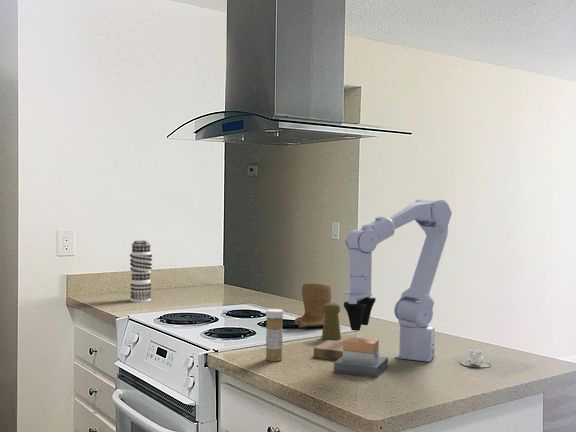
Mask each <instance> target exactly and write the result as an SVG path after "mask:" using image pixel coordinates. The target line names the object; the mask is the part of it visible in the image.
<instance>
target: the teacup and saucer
mask: <svg viewBox="0 0 576 432" xmlns="http://www.w3.org/2000/svg"><path fill="white" fill-rule="evenodd" d="M482 355H483V351H482V350H481V349H478V348H477V349H476V348H473V349H469V357H468V360H470V362H469V363H470V364H471V365H472V364H480V365H481V364H482V363H481V361H483V362H484V357H483V356H482Z"/></svg>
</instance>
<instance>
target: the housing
mask: <svg viewBox="0 0 576 432" xmlns="http://www.w3.org/2000/svg"><path fill="white" fill-rule="evenodd" d="M342 342H343V360H344V361H353V362H361V363H370V364H374V363H375V362H376V361H377V360H378V356H379V353H380V352H379V350H380V348H379V347H380V345H379V344H380V343H379V342H380V341H379V339H375V338H374V339H373V338H365V337H364V338H363V337H355V336H348V337H346V338H345V339H343V340H342Z"/></svg>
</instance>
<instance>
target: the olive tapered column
mask: <svg viewBox="0 0 576 432" xmlns="http://www.w3.org/2000/svg"><path fill="white" fill-rule="evenodd" d="M323 310H324V312H325V318H324V325H323V326H322V327H323V328H322V333H321V339H322V340H324V341H327V340H332V341H339V340H340V341H341V340H342V337H341V336H342V334H341V328H340V327H341V326H340V317H339V313H340V311H341V306H340V304H338V303H335V302H330V303H327V304H325V305H324V308H323Z"/></svg>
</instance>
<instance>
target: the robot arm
mask: <svg viewBox="0 0 576 432" xmlns="http://www.w3.org/2000/svg"><path fill="white" fill-rule="evenodd" d="M452 213H453V212H452V211H451V208H450V205H449V203H448V202H447V201H446V200H444V199H430V200H429V199H416V200H415V201H413V202H410V203H409V205H407V206H405V207H404V208H402V209H401V210H399V211H398V212H397V213H395V214H393V215H392V216H389V218H388V217H386V216H377V217H375V218H374V220H373V221H372V222H371V223H368V224H364V225H362V226H361V228H360V229H352V230H351V231H350V232H349V233H348V235H347V237H346V239H344V241H345V242H344V243H345V246H346V248H347V250H348V256H349V276H348V277H349V281H348V282H349V284H348V285H349V287H348V288H349V289H348V290H346V291H344V295H346V296H348V301H344V302H343V308H344V309H345V311H346V313H347V316H348V320H349V325H350V330H351V331H356V332H357V331H358V332H359V331H361V328H362V327H361V326H368V325H369V322H370V316H371V312H372V311H373V306H374V304H375V302H376V300H377V299H376V297H372V296H373V292H372V268H373V267H372V265H373V264H372V263H373V261H372V260H373V258H372V257H373V255H372V253H373V252H374V250H375V249H376V248H377V245H379V244H381V243H382V242H384V241H385V240H387V239H389V238H391V237H393V236H394V234H395V230H397V229H398V228H401V227H402V226H404V225H406V224H409V223H411V222H413V221H415V222H416V224H417V225H418V226H419V227H420V229H421V230H422V231H423V232H424V234H425V238H424V242H423V245H422V248H421V250H420V251H421V252H420V255H419V257H418V261H417V263H416V266H415V267H416V268H415V270H414V274H413V277H412V280H411V282H410V286H409V287H408V289H407V288H406V289H405V290H404V291H403V292H401V294H400V297H399V299H398V300H397V301H396V303H395V306H394V309H393V310H394V316H395V318H396V319H397V321H398V324H399V352H398V353H397V354H396V355H395V356H394V358H395V359H403V360H412V361H420V362H421V361H422V362H427V363H428V362H429V363H430V362H431V361H432V360H433V359H434V357H436V356H435V348H436V345H435V344H436V331H435V327H434V326H429V324H431V322H432V319H433V316H434V312H433V311H434V309H433V308H434V304H435V301H434V300H433V298H432V297H431V295H430V292H431V290H432V286H433V283H434V279H435V276H436V273H437V270H438V267H439V263H440V260H441V257H442V254H443V251H444V247H445V244H446V241H447V238H448V234H449V233H448V232H449V224H450V220H451V218H452Z"/></svg>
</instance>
